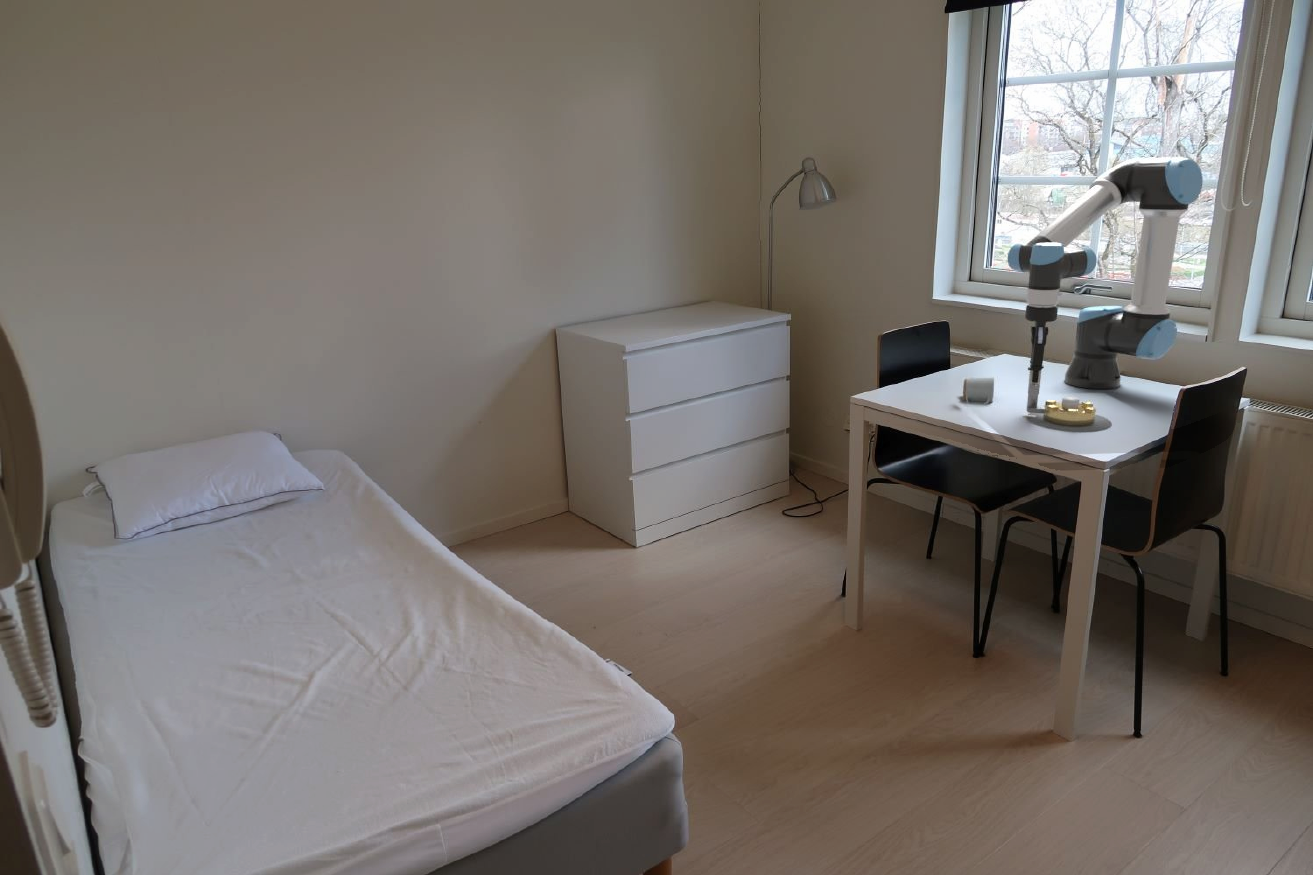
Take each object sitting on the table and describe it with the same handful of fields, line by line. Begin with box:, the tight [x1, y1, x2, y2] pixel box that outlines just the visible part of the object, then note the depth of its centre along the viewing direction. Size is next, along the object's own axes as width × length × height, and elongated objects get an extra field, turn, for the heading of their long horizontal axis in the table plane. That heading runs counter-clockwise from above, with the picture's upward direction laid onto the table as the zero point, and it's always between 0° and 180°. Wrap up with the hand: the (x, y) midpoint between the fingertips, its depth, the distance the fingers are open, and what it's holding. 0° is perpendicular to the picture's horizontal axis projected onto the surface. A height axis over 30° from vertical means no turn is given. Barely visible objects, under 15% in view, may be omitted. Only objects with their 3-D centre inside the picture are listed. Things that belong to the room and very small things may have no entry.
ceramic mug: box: [962, 376, 995, 406], centre depth 245 cm, size 11×8×8 cm
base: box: [1022, 396, 1113, 433], centre depth 224 cm, size 20×20×7 cm
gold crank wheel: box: [1026, 383, 1097, 426], centre depth 224 cm, size 16×12×9 cm
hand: (1033, 393), depth 232 cm, fingers closed
